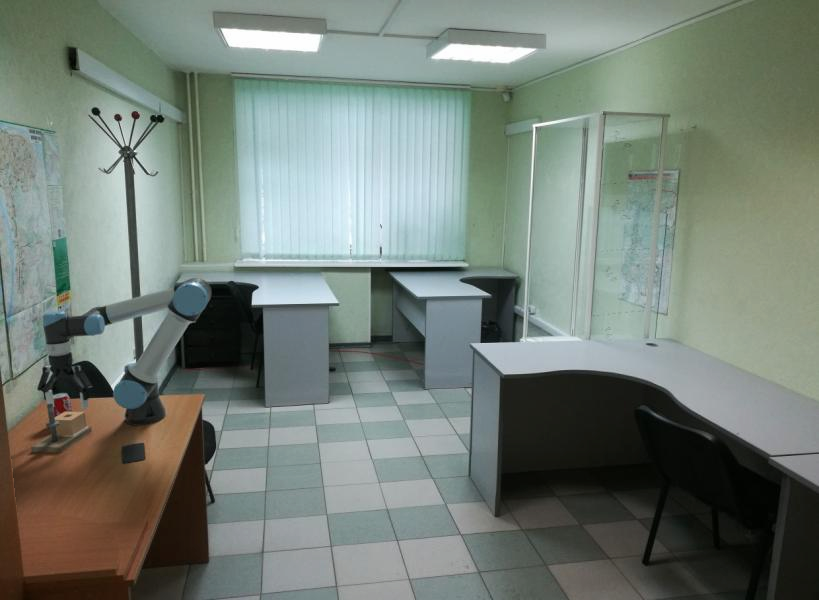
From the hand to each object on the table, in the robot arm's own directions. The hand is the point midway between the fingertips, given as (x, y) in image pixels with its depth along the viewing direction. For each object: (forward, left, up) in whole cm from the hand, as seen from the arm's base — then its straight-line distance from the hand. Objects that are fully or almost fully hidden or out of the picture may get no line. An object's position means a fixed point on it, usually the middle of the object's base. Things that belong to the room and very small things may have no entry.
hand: (68, 408), depth 222 cm
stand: (0, +5, -11) cm, 12 cm away
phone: (-32, +13, -12) cm, 36 cm away
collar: (0, 0, -9) cm, 9 cm away
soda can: (+11, -11, -12) cm, 20 cm away
